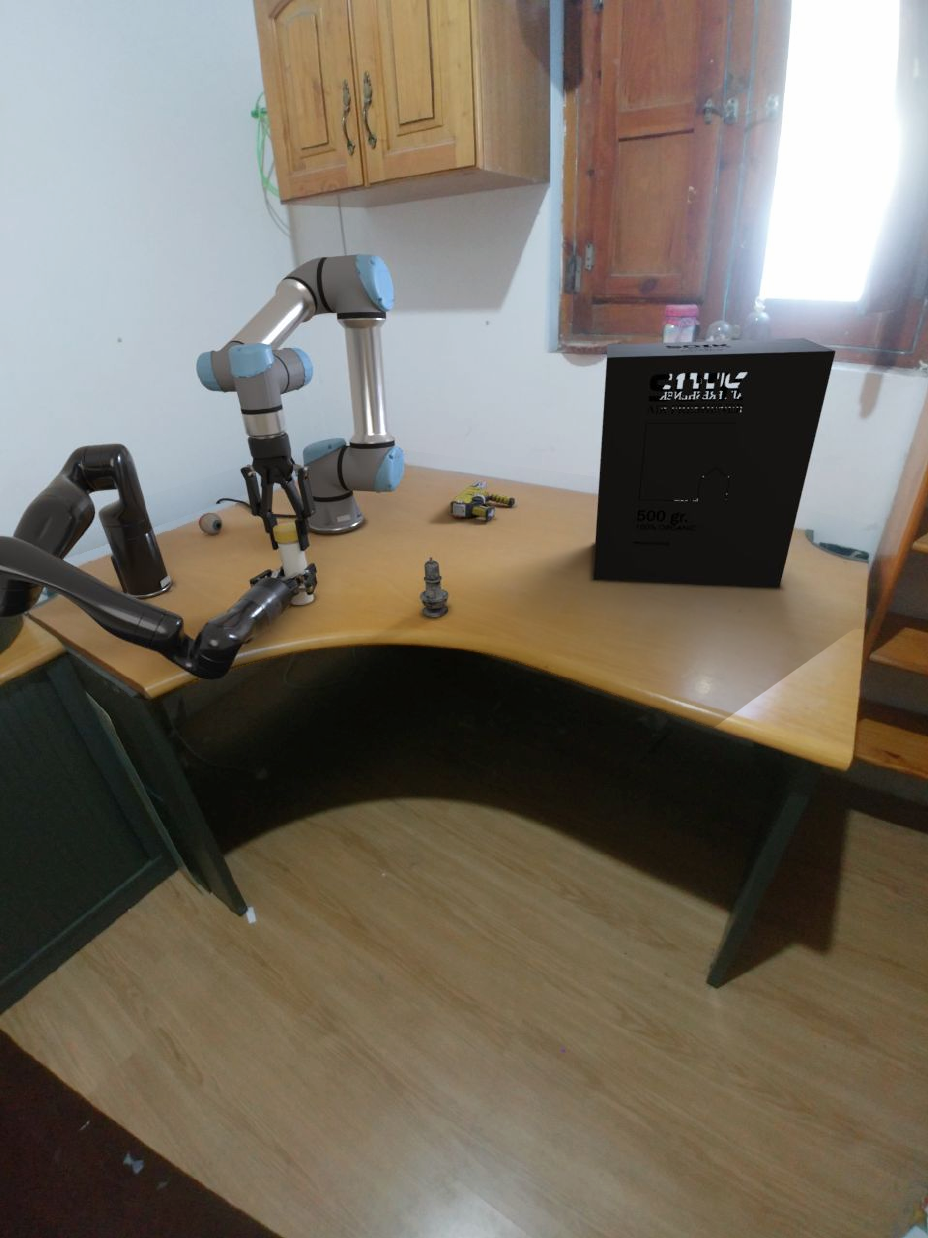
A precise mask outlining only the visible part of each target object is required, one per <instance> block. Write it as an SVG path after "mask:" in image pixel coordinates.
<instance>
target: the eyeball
mask: <svg viewBox="0 0 928 1238" xmlns="http://www.w3.org/2000/svg"><path fill="white" fill-rule="evenodd" d="M198 526H199V528H200V530H201V531H202V532H203V533H204V534H206V535H212V536H214V535H216V534H218V533H220V532H221V531H222V529H223V520H222V518H221V517H220V515H218V514H217V513H214V512H206V513H203V515H201V516H200V517H199V520H198Z"/></svg>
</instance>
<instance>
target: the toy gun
mask: <svg viewBox="0 0 928 1238" xmlns="http://www.w3.org/2000/svg"><path fill="white" fill-rule="evenodd" d="M486 487H487V482H486V481H485V480H483V481H482V482H481V480H477V481H476V482H474V483H473V484H472V485H469V486H468V487H467V488H466V489H465V490H463V491H462V492H461V493H460V494H459V495H457V496H456V497H455V498H454V499H453V500H451V502H450V503H449V504H450V505H449V513H450V515H451V516H454V518H458V519H459V518H460V519H461V518H471V517H474V516H477V517H481V518H485V521H487V522H488V521H490V520H491V519H493V518H494V517H495V511H496V509H495V508H496V507H495V506H494V505H492V504H491V505H490V506H489V505H488V504H487V503H489V502H490V501H491V502H492V503H499V504H502V505H507V506H508V507H513V506H514V505H515V503H516V499H515V498H514V497H511V496H509V497H508V496H506V495H505V496H504V495H501V494H497V493H491V495H490V494H489V492H488V491H487V489H485V488H486Z"/></svg>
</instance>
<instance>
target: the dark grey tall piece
mask: <svg viewBox="0 0 928 1238" xmlns="http://www.w3.org/2000/svg"><path fill="white" fill-rule="evenodd" d="M423 567H424V577H423V581H424V582H425V590H424V591H422V592H421V593H420V594H419V599H420V600H421V603H422V605H423V606H424V608H422V614H423V615H424V616H426V617H429V618H438V617H442V616H444V615H446V614H448V612H449V607H448V606H447V605H446V603H447V602H448V598H449V595H450V594H449V592H448V591H447V590H445V589H443V588H442V582H441V581H442V579H443V577H442V575H441V574H440V564H439V562H438V561H437V560H434V559H433V557H432V556H430V557H429V559H428V561H426V562H425V563H424V566H423Z"/></svg>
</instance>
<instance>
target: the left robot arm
mask: <svg viewBox="0 0 928 1238" xmlns="http://www.w3.org/2000/svg"><path fill="white" fill-rule="evenodd" d="M68 456H69V457H68V458H67V459H66V461H65V462H64V464H63V466H62V468H61V469H60V471H59V472H58V474H57V475H56V476H55V477H54V478H53V479H52V481H50V483H49V484H48V485H47V486H46V487H45V488H44V489H43V490H41V492H39V493H38V494H37V496H36V497H35V498H34V499H33V500H31V502H30V503H29V504H28V505H27V507H26V509H25V510H24V511H23V513H22V515H21V517H20V519H19V521H18V523H17V526H16V528H15V529H14V532H13V534H12V536H9V535H0V618H2V619H4V618H12V617H16V616H19V615H23V614H25V613H27V612H29V611H30V610H31V609H32V608H34V607H35V606H36V605H37V603H38V602H39V599H40V597H41V595H42V593H43V591H44V588H45V589H48V590H49V591H53V592H55V593H56V594H58V595H60V596H63V597H64V598H66V599H67V600H69V601H70V602H72V603H73V604H74V605H76V607H78V608H79V609H80V610H82V611H83V612H84V613H85V614H86V615H88V617H89V618H91V620H93V621H94V622H95V623H96V624H97V625H98V626H100V628H102V629H103V630H104V631H106V632H107V633H109V634H110V635H112V636H113V637H115V638H117V639H119V640H122V641H124V642H126V643H129V644H132V645H134V646H138V647H141V648H142V649H146V650H149V651H152V652H155V653H157V654H159V655H160V656H162V657H163V658H165V659H166V660H168V661H169V662H171V663H172V664H174V665H175V666H177V667H178V668H180V669H181V670H183V671H184V672H186V673H188V674H190V675H192V676H194V677H196V678H198V679H202V680H211V681H212V680H219V679H221V678H223V677H225V676H226V675H227V674H228V673H229V672H230V670H231V667H232V666H233V663H234V662H235V660H236V658H237V656H238V654H239V652H240V650H241V649H242V647H243V646H245V645H249V644H250V643H252V642H253V641H255V640H256V639H257V638H258V637H259V636H260V635H261V634H262V633H263V632H264V631H265V630H266V629H267V628H268V627H270V626H271V625H273V624H274V622H275V621H277V619H278V618H279V617H280V616H281V615H282V614H284V612H285V611H286V610H287V609H288V608H289V607H290V605H291V604H292V603H291V600H292V598H293V597H294V596H296V595H298V594H299V592H307V595H312V594H313V595H314V593H315V591H316V587H317V585H318V579H317V573H318V570H317V565H316V564H315V562H311V563H309V564H307V567H306V568H305V569H304V571H302V572H300V573H297V572H296V573H294V574H292V575H290V576H288V577H285V574H284V569H283V565H281V566H280V567H279V568H275V569H274V570H272V569H266V570H263V571H262V572H260V573H259V574H257V575H255V576H254V577H252V578H250V579H248V582H249V586H250V588H249V589H248V590H247V591H246V592H245V593H243V594H242V595H241V597H240V598H239V599H238V600H237V601H236V602H235V604H234V605H232V606H230V608H229V609H228V610H227V611H226V612H223V613H221V614H219V615H217V616H214V617H212V618H211V619H209V620H208V621H207V622H206V623H205V624H204V625H202V627H201V628H200V630H199V631H198V633H197V635H196V637H195V639H194V638H193V637H191V636H190V635H188V634H187V633H186V632H185V621H184V618H183V617H182V616H181V615H179V614H177V613H175V612H173V611H171V610H167V609H165V608H163V607H161V606H159V605H155V604H152V603H150V602H147V601H145V600H143V599H149V598H154V597H157V596H160V595H162V594H164V593H165V592H167V591H169V590H170V589H171V588H172V582H171V581H172V579H171V576H170V574H168V571H167V568H166V565H165V562H164V558H163V555H162V552H161V549H160V546H159V543H158V541H157V537H156V534H155V532H154V528H153V526H152V522H151V519H150V516H149V513H148V510H147V506H146V500H145V497H144V493H143V490H142V486H141V483H140V478H139V474H138V471H137V467H136V464H135V460H134V458H133V455H132V453H131V452H130V450H129V448H128V447H127V446H126V445H125V444H122V443H120V442H119V443H117V442H115V443H102V444H89V445H82V446H79V447H77V448H76V449H74V450H73V451H72V452H71V453H70V455H68ZM115 490H117V494H118V499H116V500H115V501H112V502H111V503H108V504H106V505H105V506H103V507H101V508H100V509H99V511H98V513H97V514H98V518H99V521H100V524H101V527H102V529H103V532H104V535H105V537H106V540H107V542H108V545H109V547H110V550H111V553H112V555H110V561H111V563H112V566H113V568H114V571H115V574H116V577H117V580H118V582H119V585H120V587H121V590H122V591H121V590H119V589H118V588H115V587H113V586H111V585H109V584H107V583H106V582H104V581H102V580H100V579H98V578H97V577H95V576H94V575H91V574H89V573H88V572H86V571H84V570H82V569H80V568H79V567H77V566H75V565H74V564H72V563H70V562H68V561H67V560H64V559H65V558H66V557H67V556H68V554H69V553H70V552H71V550H72V549H73V548H74V547H75V546H76V545H77V543H78V542H79V541H80V539H81V538H82V537H83V536H84V534H86V532H87V531H88V530H89V528H90V527H91V525H92V524H93V522H94V520H95V517H96V507H95V504H94V501H93V499H92V497H91V496H90V495H91V494H92V493H97V492H104V491H115ZM303 576H304V579H305V580H303V579H302V577H303ZM295 578H296V579H295Z"/></svg>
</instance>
